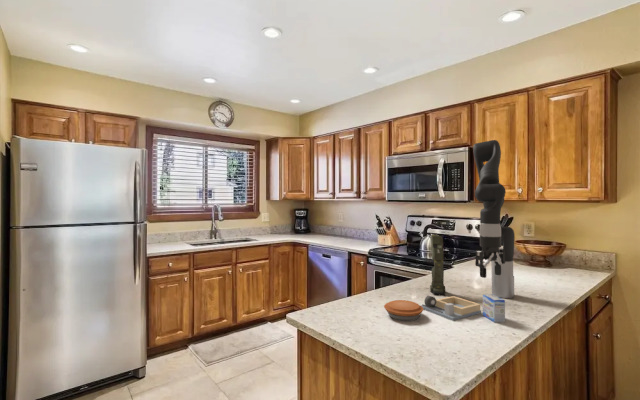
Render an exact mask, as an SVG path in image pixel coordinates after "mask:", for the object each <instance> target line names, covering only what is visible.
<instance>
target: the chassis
mask: <svg viewBox="0 0 640 400" xmlns="http://www.w3.org/2000/svg"><path fill="white" fill-rule="evenodd" d="M420 306H422V307H423V309H424V310H423V311H427V312H429V313H432V314H434V315H436V316H440V317H442V318H445V319H447V320H450V321H452V322H453V321H456V320H459V319H464V318H467V317H472V316H474V315H479V314H481V313H482V310H481V304H480V303H477V302H473V301H471V300H467V299H464V298H461V297H458V296H455V295H452V296H448V297H443V298H438V299H437V298H436V305H435V306H434V307H429V306H426V305H425V303H422V305H420Z"/></svg>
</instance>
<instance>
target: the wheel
mask: <svg viewBox="0 0 640 400" xmlns="http://www.w3.org/2000/svg"><path fill="white" fill-rule="evenodd" d="M436 300H437V298H435V296H432V295H426V296H425V298H424V301H423V302H424V305H426V306H429V307H434V306H435V305H436Z"/></svg>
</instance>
